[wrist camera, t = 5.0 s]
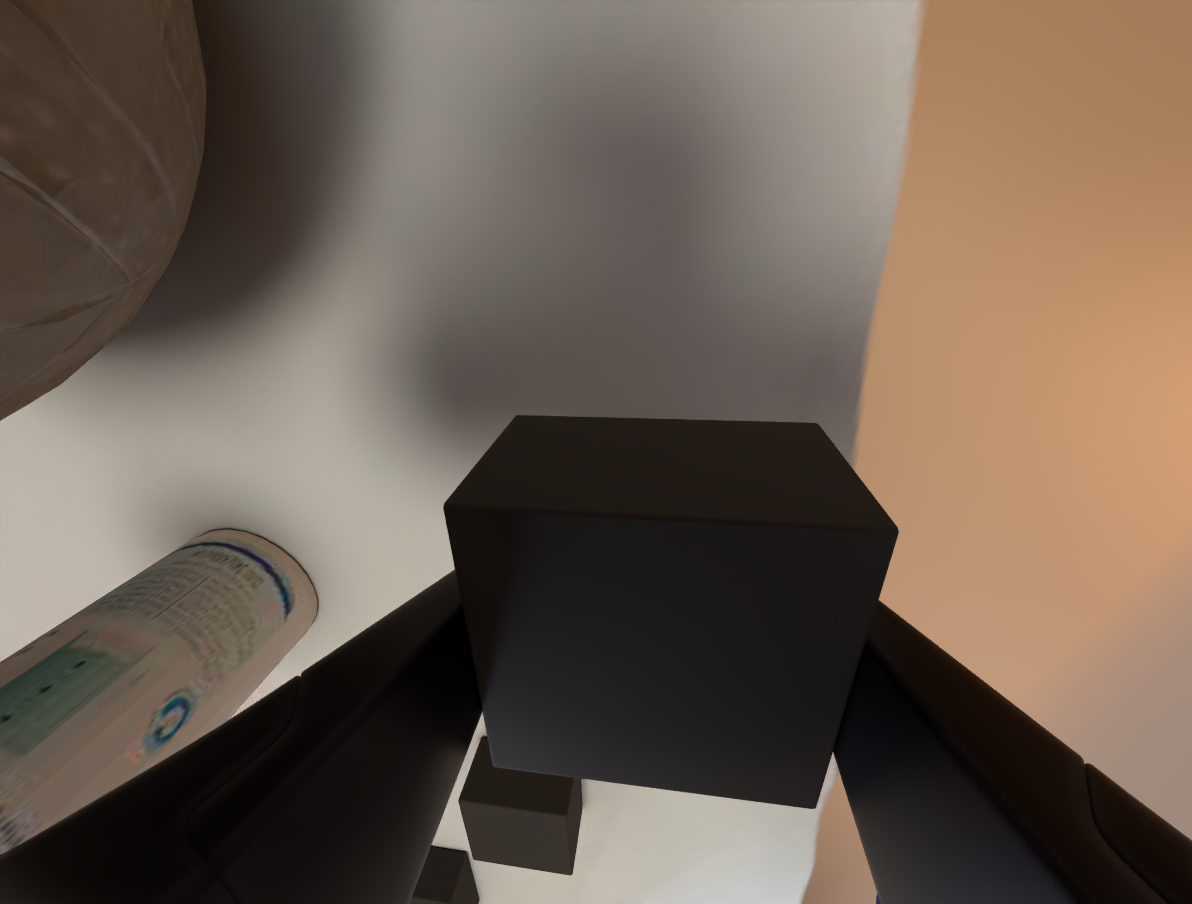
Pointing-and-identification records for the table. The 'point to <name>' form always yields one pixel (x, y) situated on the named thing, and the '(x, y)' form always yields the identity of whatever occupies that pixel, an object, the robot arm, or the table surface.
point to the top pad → (520, 815)
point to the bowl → (90, 174)
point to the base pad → (445, 879)
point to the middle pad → (668, 600)
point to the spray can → (142, 674)
